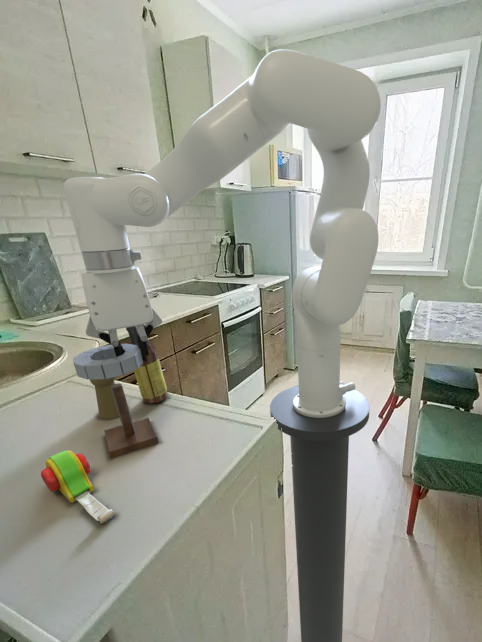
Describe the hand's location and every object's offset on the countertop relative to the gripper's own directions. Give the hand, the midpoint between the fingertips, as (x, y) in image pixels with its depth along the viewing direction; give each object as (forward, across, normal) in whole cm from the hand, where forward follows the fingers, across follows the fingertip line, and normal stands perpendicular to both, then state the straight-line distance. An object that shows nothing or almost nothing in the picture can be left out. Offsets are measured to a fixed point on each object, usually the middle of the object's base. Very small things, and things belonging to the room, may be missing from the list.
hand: (134, 360), depth 68 cm
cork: (+17, +6, -15) cm, 23 cm away
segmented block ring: (0, +4, 0) cm, 4 cm away
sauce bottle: (+17, -4, -16) cm, 23 cm away
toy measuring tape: (+17, +14, +13) cm, 25 cm away
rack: (+17, +4, 0) cm, 17 cm away
